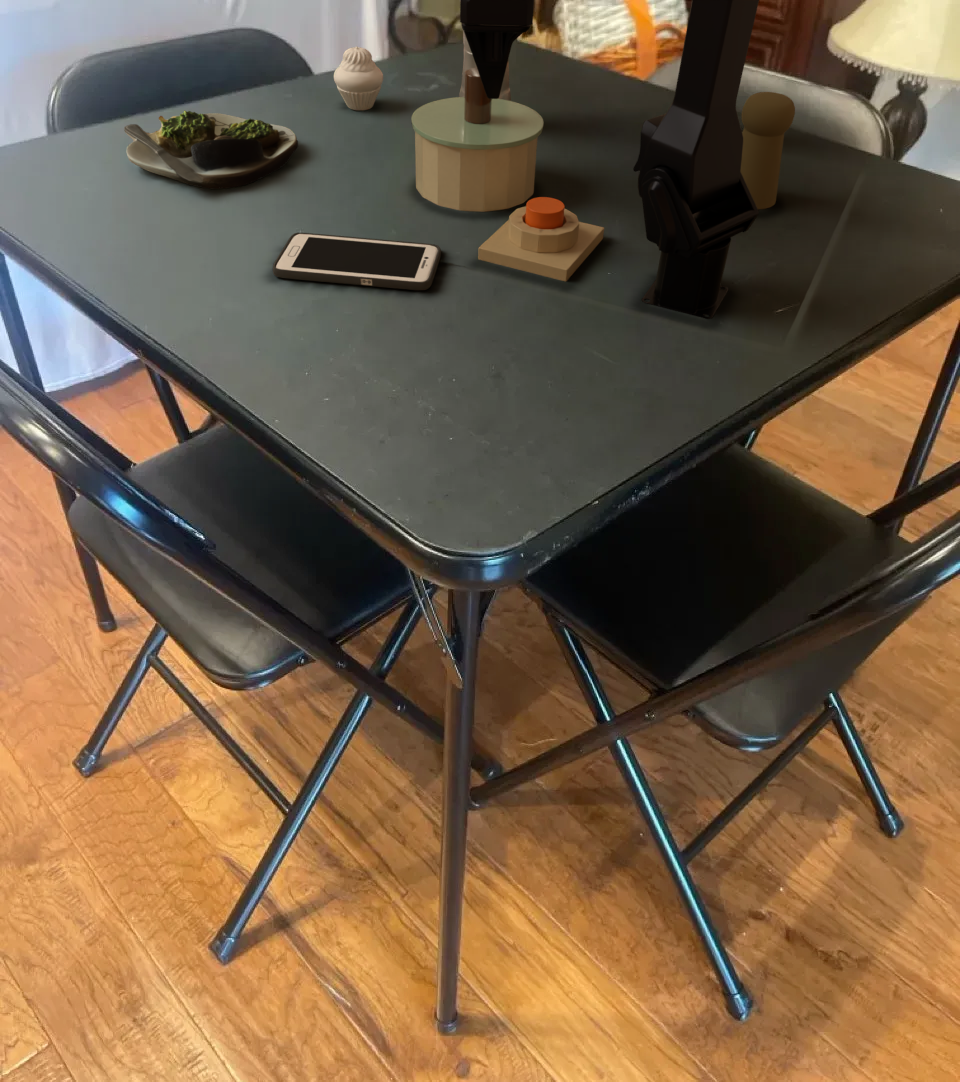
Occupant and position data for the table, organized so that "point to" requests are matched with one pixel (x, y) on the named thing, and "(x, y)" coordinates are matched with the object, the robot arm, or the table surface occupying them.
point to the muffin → (358, 79)
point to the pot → (475, 175)
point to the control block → (542, 245)
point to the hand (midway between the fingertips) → (492, 82)
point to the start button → (544, 213)
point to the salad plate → (211, 149)
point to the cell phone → (358, 261)
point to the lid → (477, 120)
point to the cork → (764, 143)
